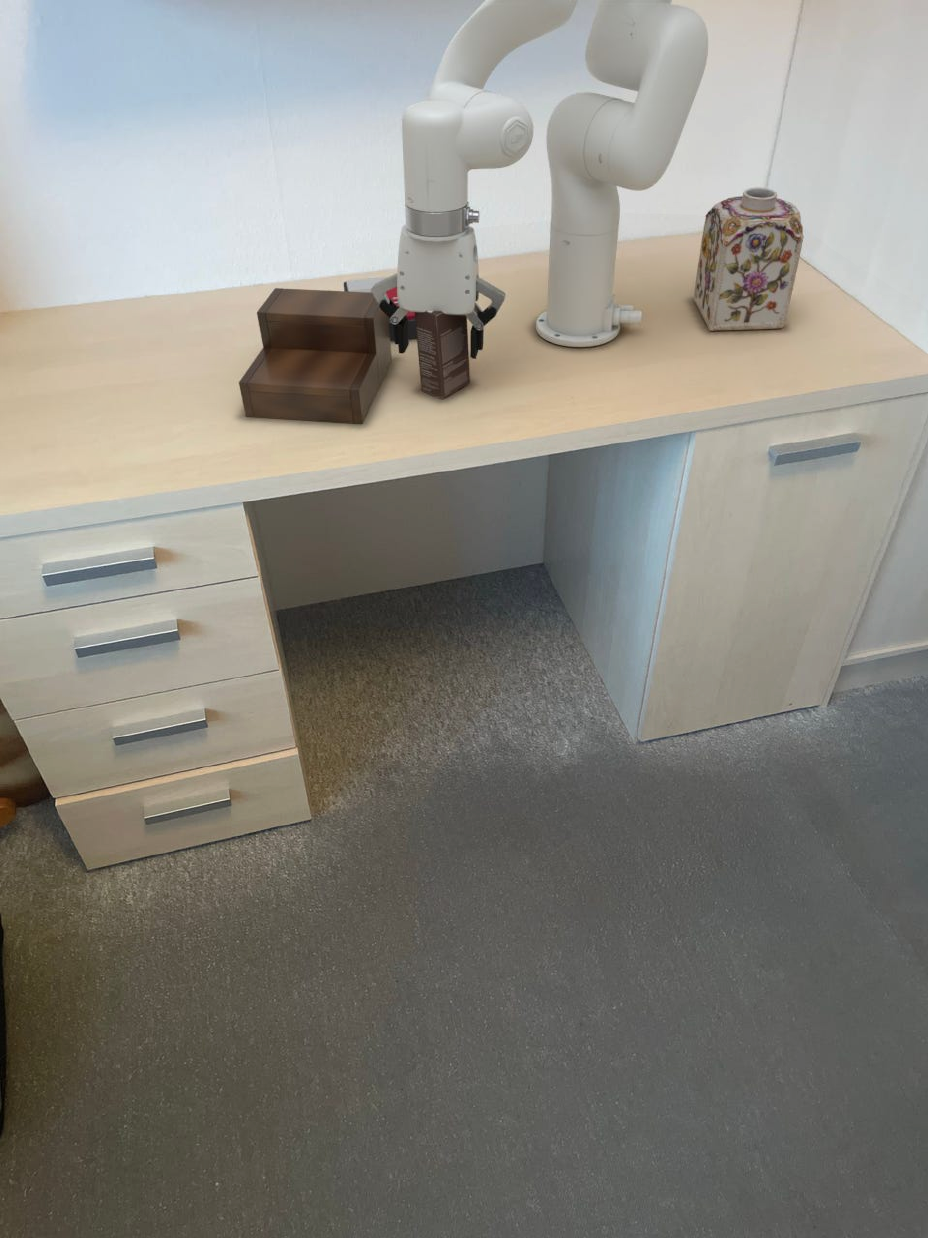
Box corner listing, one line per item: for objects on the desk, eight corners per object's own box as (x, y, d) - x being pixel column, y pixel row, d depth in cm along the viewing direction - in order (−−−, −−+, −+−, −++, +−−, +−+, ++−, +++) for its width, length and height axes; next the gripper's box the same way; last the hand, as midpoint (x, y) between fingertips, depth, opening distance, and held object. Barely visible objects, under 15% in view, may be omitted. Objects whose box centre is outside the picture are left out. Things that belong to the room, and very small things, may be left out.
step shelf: (391, 360, 132) (386, 292, 125) (362, 424, 119) (354, 352, 112) (286, 354, 134) (275, 287, 127) (245, 416, 121) (230, 346, 114)
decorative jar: (764, 297, 145) (789, 177, 133) (785, 329, 136) (814, 204, 124) (690, 299, 145) (708, 179, 132) (706, 332, 136) (727, 207, 124)
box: (446, 374, 128) (443, 290, 120) (470, 383, 126) (469, 299, 118) (417, 390, 125) (412, 306, 117) (442, 400, 123) (438, 315, 115)
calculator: (351, 321, 133) (342, 276, 143) (354, 348, 136) (345, 302, 146) (425, 314, 134) (411, 270, 145) (426, 341, 137) (412, 296, 148)
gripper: (511, 212, 112) (506, 344, 123) (374, 205, 114) (382, 335, 125) (503, 233, 106) (499, 369, 118) (359, 225, 108) (369, 359, 120)
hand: (439, 351), depth 121 cm, fingers open, 9 cm apart
